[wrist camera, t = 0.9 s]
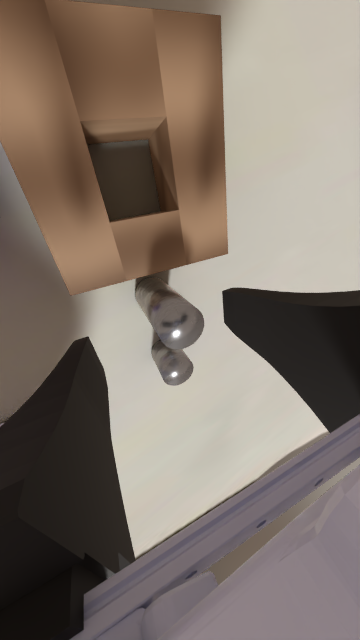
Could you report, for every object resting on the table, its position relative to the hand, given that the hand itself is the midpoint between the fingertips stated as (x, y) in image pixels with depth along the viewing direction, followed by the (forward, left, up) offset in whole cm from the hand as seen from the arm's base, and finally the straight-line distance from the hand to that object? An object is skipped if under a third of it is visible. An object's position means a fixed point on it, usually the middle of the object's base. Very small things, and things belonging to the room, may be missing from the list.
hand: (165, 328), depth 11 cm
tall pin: (-2, -2, -10) cm, 10 cm away
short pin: (-9, -2, -10) cm, 13 cm away
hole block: (+7, -2, -10) cm, 12 cm away
